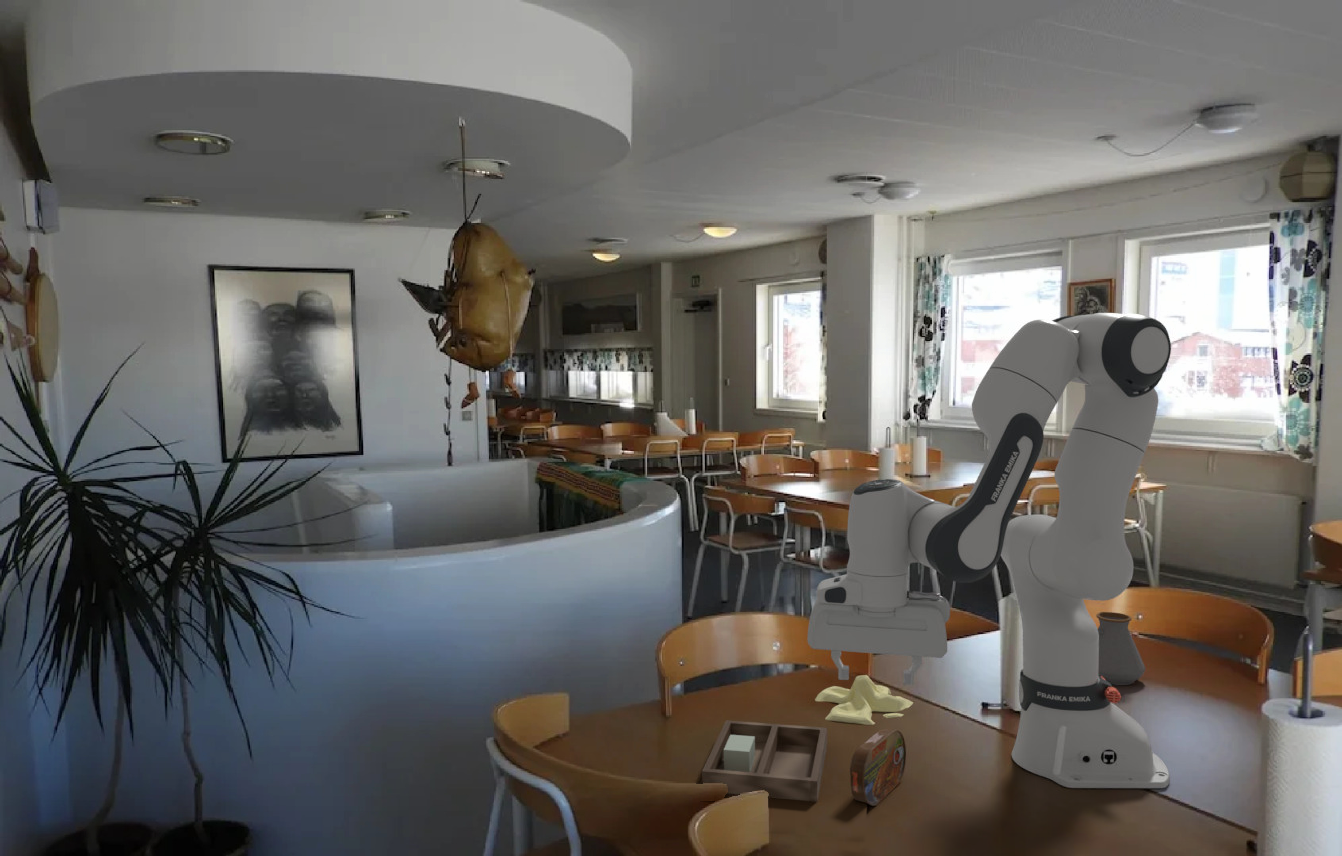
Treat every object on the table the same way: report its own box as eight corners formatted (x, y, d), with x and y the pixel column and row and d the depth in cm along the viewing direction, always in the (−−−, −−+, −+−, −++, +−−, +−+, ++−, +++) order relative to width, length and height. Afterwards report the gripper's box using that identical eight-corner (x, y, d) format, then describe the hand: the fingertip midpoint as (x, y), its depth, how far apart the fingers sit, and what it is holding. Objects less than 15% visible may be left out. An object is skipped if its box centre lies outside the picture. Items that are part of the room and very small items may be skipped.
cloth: (837, 733, 160) (837, 698, 159) (796, 696, 178) (796, 666, 177) (949, 718, 165) (950, 685, 165) (899, 685, 183) (899, 655, 183)
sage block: (755, 757, 146) (754, 736, 146) (749, 773, 141) (749, 751, 140) (730, 755, 147) (730, 734, 147) (724, 771, 142) (723, 749, 141)
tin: (866, 815, 129) (866, 757, 129) (846, 809, 131) (845, 752, 131) (908, 776, 141) (908, 723, 141) (889, 771, 143) (888, 719, 142)
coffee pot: (1115, 667, 190) (1116, 596, 189) (1158, 685, 179) (1159, 610, 178) (1028, 677, 184) (1028, 605, 183) (1066, 697, 173) (1067, 620, 172)
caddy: (827, 751, 151) (826, 727, 150) (817, 808, 131) (817, 781, 131) (726, 743, 155) (726, 720, 155) (702, 797, 135) (702, 771, 135)
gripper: (949, 588, 135) (947, 679, 136) (810, 581, 140) (809, 669, 140) (951, 598, 129) (950, 694, 129) (806, 590, 133) (805, 682, 134)
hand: (875, 681), depth 135 cm, fingers open, 8 cm apart
